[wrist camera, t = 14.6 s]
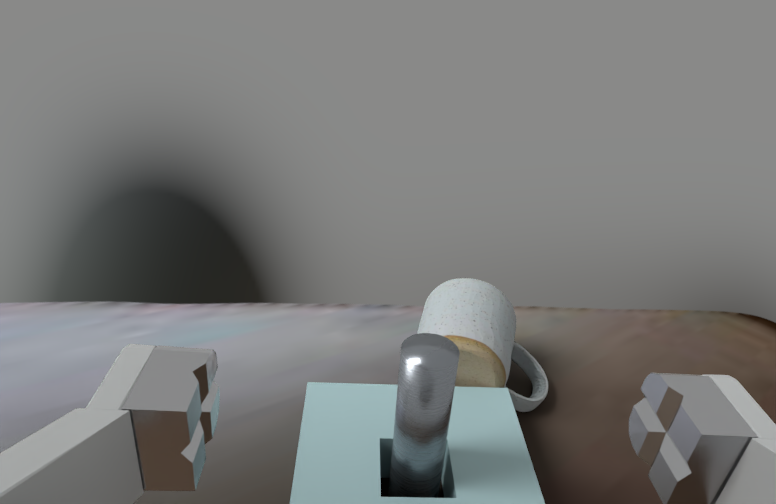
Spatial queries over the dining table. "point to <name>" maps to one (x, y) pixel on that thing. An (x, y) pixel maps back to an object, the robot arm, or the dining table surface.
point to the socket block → (375, 439)
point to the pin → (422, 414)
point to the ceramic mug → (482, 337)
